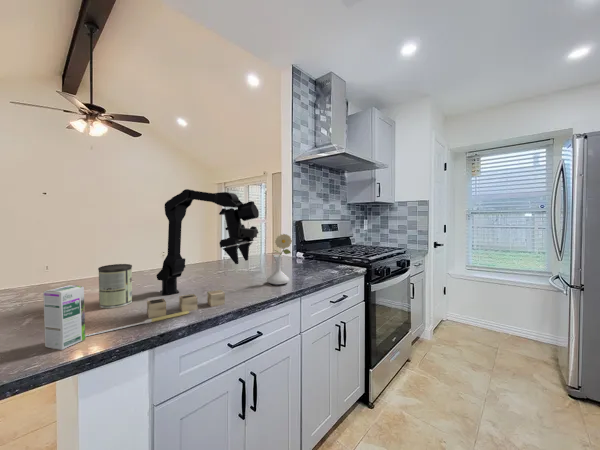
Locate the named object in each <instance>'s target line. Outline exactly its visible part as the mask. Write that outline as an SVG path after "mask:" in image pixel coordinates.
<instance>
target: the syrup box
mask: <svg viewBox="0 0 600 450" xmlns="http://www.w3.org/2000/svg"><path fill="white" fill-rule="evenodd" d="M42 294H43V296H42V297H43V317H44V318H43V319H44V345H45V347H46V348H49V349H54V350H59V351H60V350H61V351H64V350H65V349H66V348H67V349H68V347H71V346H73V345H76V344H79V343H80V342H83V341H85V340H86V337H85V335H86V320H85V319H86V317H85V316H86V315H85V288H84V286H83V285H75V284H73V285H69V284H68V285H65V286H61V287H57V288H53V289H52V288H51V289H48V290H44V291H43V293H42Z"/></svg>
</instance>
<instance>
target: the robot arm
mask: <svg viewBox="0 0 600 450" xmlns="http://www.w3.org/2000/svg"><path fill="white" fill-rule="evenodd" d="M195 200H196V201H201V202H207V203H214V204H216V205H218V206H221V207H224V208H222V209H221V210H220V212H219V213H218V215H219V216H220V215H221V216H224V218H225V223H226V227H224V229H225V231H227V233H228V238H224V239H221V240H220V241H219V247H220V248H222V249H221V250H223V251H224V252H225V254H227V255H228V256H229V258H230V259H231V260H232V261H233V263H234V264H235V265H238V264H239V252H238V250H239V251H240V253H241V256H242V258H243V259H244V261H248V260H249V254H250V253H249V251H250V246H251V245H252V244H253V242H254V239H255V238H257V237H258V234H259V230H258V229H257V228H258V227H257V226H250V227H249V228H247V227H246V226H245V224H242V221H243V222H246V221H250V220H254V219H258V218H259V217H260V216H259V215H260V213H259V212H260V211H259V209H258V207H257V206H256V204H255V202H254V201H252V200H250V201H248V202H245V203H243V202H242V201H241V200H240V199H239V196H238V195H237V194H236V193H232V192H225V191H223V192H215V193H214V192H213V193H212V192H206V191H198V190H194V189H189V188H188V189H187V188H186V189H184V190H182V191H181V192H180V193H178V194H177V195H174V196H173V197H171V198H170V199H168V200H167V201H166V202H165V203H164V214H165V216H166V219H167V220H168V230H167V231H168V233H167V255H166V257H165V258H164V260H163V261H162V267H161V270H160V271H158V273H157V274H156V279H157V281H161V290H160V291H159V292H160V294H161V295H162V296H167V295H174V294H179V293H180V291H179V290H178V282H177V281H178V278H179V277H181V276H182V274H183V272H184V271H185V268H186V258H183V257H182V255H181V249H182V248H181V245H182V244H181V242H182V224H183V223H182V222H183V220H184V218H185V216H186V213H187V209H188V208H189V207H190V206H191V205H192V203H193V201H195ZM234 208H235V209H234Z"/></svg>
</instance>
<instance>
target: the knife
mask: <svg viewBox="0 0 600 450" xmlns="http://www.w3.org/2000/svg"><path fill="white" fill-rule="evenodd" d="M188 314H190V311H184V312H182V311H179V312H175V313H172V314H166V315H165V316H159V317H154V318H148V319H144V321H141V322H136V323H132V324H128V325H123V326H120V327H119V326H118V327H114V328H111V329H106V330H101V331H97V332H94V333H90V334H89V335H88V334H85V338H86V337H89V336H94V335H95V336H96V335H99V334H102V333H103V334H104V333H107V332H112V331H115V330H116V331H117V330H121V329H125V328H129V327H134V326H137V325H143V324H150V323H154V322H155V323H156V322H159V321H164V320H168V319H171V318H172V319H173V318H177V317H180V316H185V315H188Z"/></svg>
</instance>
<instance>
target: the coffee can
mask: <svg viewBox="0 0 600 450" xmlns="http://www.w3.org/2000/svg"><path fill="white" fill-rule="evenodd" d="M132 269H133V265H132V264H130V263H129V264H127V263H117V264H116V263H115V264H108V265H101V266H100V267H99V266H98V269H97V270H98V296H99V297H98V301H99V305H98V307H99V308H100V307H101V309H115V308H121V307H125V306H127V305H130V304H132V302H133V287H132V286H133V277H132V276H133V273H132Z"/></svg>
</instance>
